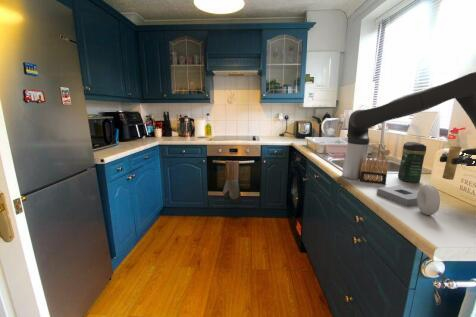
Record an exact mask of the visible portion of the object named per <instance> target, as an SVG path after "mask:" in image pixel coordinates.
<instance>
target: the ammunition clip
mask: <svg viewBox="0 0 476 317" xmlns="http://www.w3.org/2000/svg"><path fill="white" fill-rule="evenodd" d="M365 162H366V168H365ZM379 162H380V163H379ZM388 166H389V160H388V158H386V159H385V161H384V158H383V157H382V158H381V159H380V160H379V157H377V158H376V160H375V157H372V159H371V158H370V156H368V157H367V161H366V158H365V157H364V159H363V162H362V166H361V173H360V178H359V180H358V182H362V183H369V184H377V185H383V186H386V184H387V174H388V168H389V167H388Z"/></svg>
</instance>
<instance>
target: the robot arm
mask: <svg viewBox="0 0 476 317" xmlns="http://www.w3.org/2000/svg"><path fill="white" fill-rule="evenodd" d="M454 99H455V100H456V101H457V102H458V104H459V105H460V107H461V108H462V109H463V111H464V112H465V113H466V114H465V115H467V117H469V119H470V122H471V123H472V124H473V126H474V128H475V129H476V71H472V72H469V73H467V74H464V75H462V76H460V77H457V78H455V79H453V80H452V79H451V80H449V81H447V82H443V83H440V84H437V85H434V86H430V87H426V88H424V89H419V90H417V91H413V92H409V93H407V94H404V95H402V96H399V97H397V98H395V99H393V100H391V101H389V102H386V103H385V104H382V105H379V106H375V107H371V108H367V109H356V110H354V111H353V112H352V113H351V114H350V115H349V118H348V124H347V134H346V135H347V145H346V153H345V156H344V158H343V164H342V173H341V175H342V176H343V177H344V178H346V179H350V180H357V181H359V178H360V173H361V166H362V162H363V159H364V157H365V158H366V162H365V168H366V164H367V160H368V152H369V145H370V137H369V129H370V128H372V127H376V126H377V125H379V124H381V123H385V122H387V121H388V122H389V121H392V120H395V119H396V120H397V119H401V118H403V117H404V118H405V117H407V116H412V115H415V114H419V113H421V112H424V111H426V110H429V109H431V108H434V107H436V106H438V105H441V104H443V103H445V102H447V101H450V100H454ZM460 152H462V153H460V155H459V158H453V159H452V162H451V164H453V165H456V164H457V165H460V164H461V165H460V166H462V165H466V166H476V159H472V158H470V157H471V156H472V155H476V148H474V147H473V148H466V149H463V150H461V151H460ZM464 153H466V154H468V155H465V156H463V155H464ZM447 156H448V152H447V151H445V152H443V153H442V154H441V156H440V157H439V162H440V163H446V161H447ZM473 161H475V163H474V164H472V163H473Z"/></svg>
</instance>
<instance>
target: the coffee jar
mask: <svg viewBox="0 0 476 317" xmlns="http://www.w3.org/2000/svg"><path fill="white" fill-rule="evenodd" d="M426 153H427V145H425V144H422V143H420V142H416V141H406V142H405V143H403V145H402V154H401V160H400V164H399V170H398V174H397V177H398V178H399V179H400V180H401V181H404V182H409V183H420V182H421V178H422V172H423V171H422V170H423V167H424V166H423V165H424V159H425V155H426Z"/></svg>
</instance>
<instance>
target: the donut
mask: <svg viewBox="0 0 476 317" xmlns="http://www.w3.org/2000/svg"><path fill="white" fill-rule="evenodd" d="M417 191H418V194H417V207H418V210H419V211H420V213H422V214H424V215H426V216H432V215H435V214H436V213H438V210H439V208H440V206H441V196H440V192H439V190H438V189H437V188H436V186H434V185H432V184H428V183H427V184H423V185H421V187H419V189H418V190H417Z"/></svg>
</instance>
